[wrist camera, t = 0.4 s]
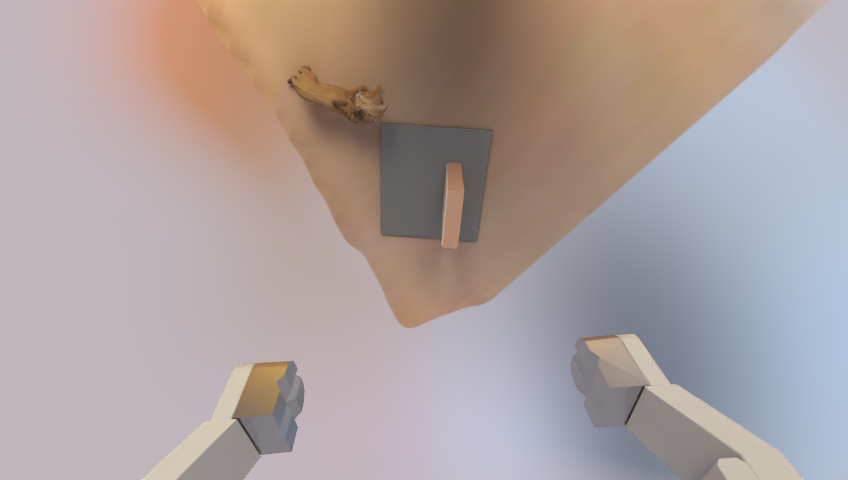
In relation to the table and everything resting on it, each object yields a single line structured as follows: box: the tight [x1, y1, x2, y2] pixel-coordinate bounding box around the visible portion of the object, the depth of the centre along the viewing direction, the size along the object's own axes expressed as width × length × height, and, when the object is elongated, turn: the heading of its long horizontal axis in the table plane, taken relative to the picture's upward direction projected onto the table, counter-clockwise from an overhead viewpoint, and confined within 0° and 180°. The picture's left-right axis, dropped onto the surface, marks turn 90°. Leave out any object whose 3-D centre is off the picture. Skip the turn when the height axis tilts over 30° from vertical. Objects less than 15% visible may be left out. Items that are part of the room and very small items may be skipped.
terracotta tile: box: [442, 162, 464, 249], centre depth 51 cm, size 8×2×12 cm, turn 177°
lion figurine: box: [288, 66, 387, 124], centre depth 47 cm, size 15×5×9 cm, turn 80°
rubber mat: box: [381, 123, 492, 242], centre depth 56 cm, size 18×16×1 cm
